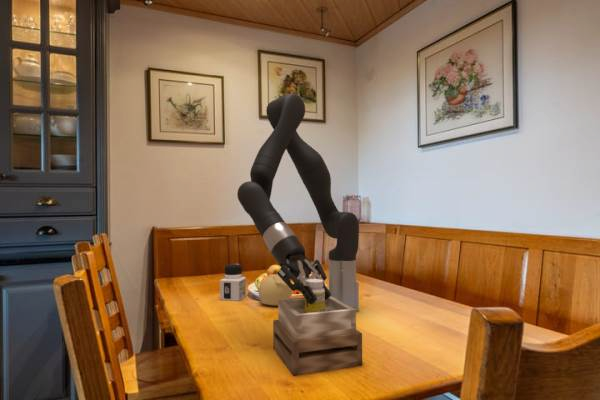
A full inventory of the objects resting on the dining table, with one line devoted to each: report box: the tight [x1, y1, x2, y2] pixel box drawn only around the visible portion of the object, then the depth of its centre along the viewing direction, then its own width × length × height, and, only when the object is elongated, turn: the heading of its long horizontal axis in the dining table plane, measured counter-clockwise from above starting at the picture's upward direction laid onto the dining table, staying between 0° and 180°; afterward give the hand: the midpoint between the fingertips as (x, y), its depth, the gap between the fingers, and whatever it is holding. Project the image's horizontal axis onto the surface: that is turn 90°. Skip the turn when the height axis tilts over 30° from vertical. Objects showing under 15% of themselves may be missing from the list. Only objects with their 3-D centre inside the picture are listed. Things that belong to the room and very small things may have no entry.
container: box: [219, 263, 247, 302], centre depth 147 cm, size 8×8×13 cm
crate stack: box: [272, 296, 363, 377], centre depth 90 cm, size 16×16×12 cm
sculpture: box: [258, 273, 293, 307], centre depth 138 cm, size 12×12×11 cm
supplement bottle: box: [305, 278, 325, 313], centre depth 90 cm, size 5×5×8 cm
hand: (321, 299), depth 89 cm, fingers closed on supplement bottle, 4 cm apart
